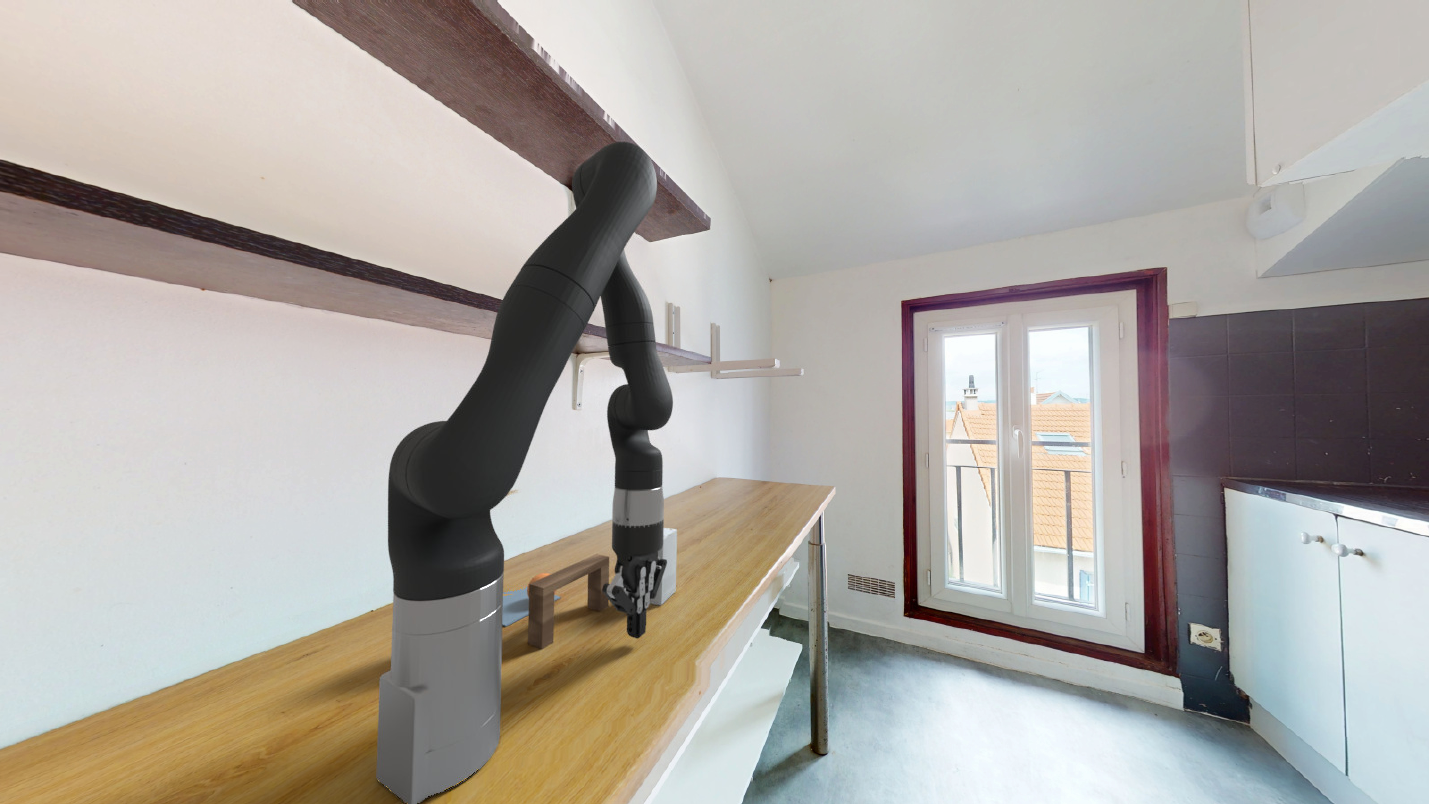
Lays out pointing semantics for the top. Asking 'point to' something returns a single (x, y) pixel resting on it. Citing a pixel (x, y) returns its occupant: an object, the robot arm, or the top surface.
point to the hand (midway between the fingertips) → (636, 634)
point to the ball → (538, 579)
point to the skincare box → (667, 567)
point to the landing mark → (516, 606)
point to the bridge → (545, 587)
